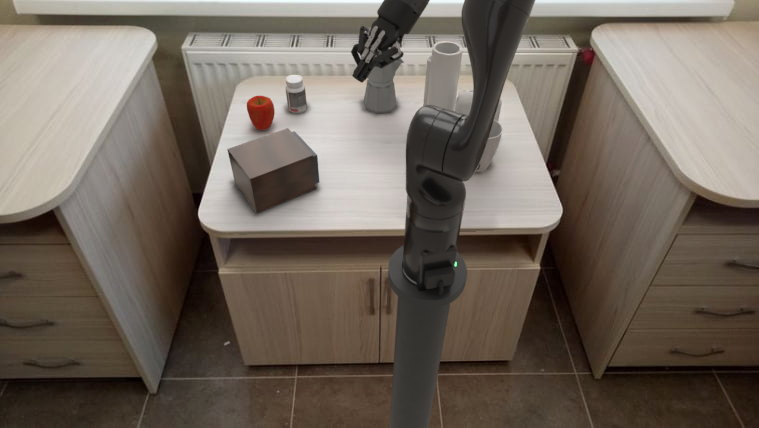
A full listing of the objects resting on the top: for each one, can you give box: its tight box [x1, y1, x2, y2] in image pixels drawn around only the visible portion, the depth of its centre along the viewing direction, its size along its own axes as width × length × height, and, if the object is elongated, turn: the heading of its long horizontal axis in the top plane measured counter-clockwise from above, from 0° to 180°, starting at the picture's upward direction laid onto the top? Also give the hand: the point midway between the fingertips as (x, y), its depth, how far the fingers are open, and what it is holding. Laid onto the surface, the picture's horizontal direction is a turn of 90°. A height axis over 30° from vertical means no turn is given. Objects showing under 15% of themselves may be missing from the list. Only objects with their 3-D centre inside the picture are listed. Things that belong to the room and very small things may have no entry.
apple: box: [246, 95, 276, 131], centre depth 128 cm, size 6×6×8 cm
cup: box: [476, 120, 504, 173], centre depth 118 cm, size 8×8×10 cm
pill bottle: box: [285, 74, 308, 114], centre depth 133 cm, size 5×5×8 cm
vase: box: [422, 40, 464, 111], centre depth 127 cm, size 11×7×20 cm, turn 1°
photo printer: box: [455, 89, 502, 122], centre depth 124 cm, size 10×4×12 cm, turn 85°
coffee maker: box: [350, 43, 405, 115], centre depth 132 cm, size 15×9×18 cm, turn 56°
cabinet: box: [226, 127, 317, 214], centre depth 112 cm, size 14×11×9 cm
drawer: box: [291, 131, 320, 185], centre depth 113 cm, size 14×10×7 cm
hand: (357, 79), depth 109 cm, fingers closed
